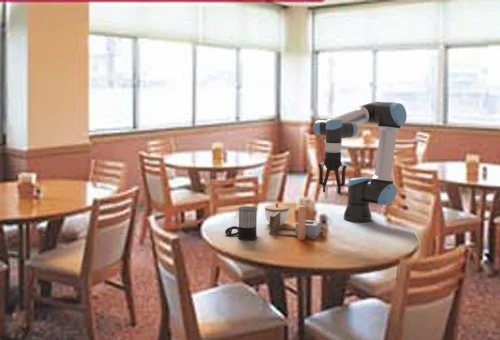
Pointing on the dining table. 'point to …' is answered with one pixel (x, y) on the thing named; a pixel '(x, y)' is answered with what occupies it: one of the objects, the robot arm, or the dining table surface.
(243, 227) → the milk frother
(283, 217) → the lidded bowl
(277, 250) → the dining table surface
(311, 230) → the block
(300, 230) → the dowel
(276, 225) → the track
